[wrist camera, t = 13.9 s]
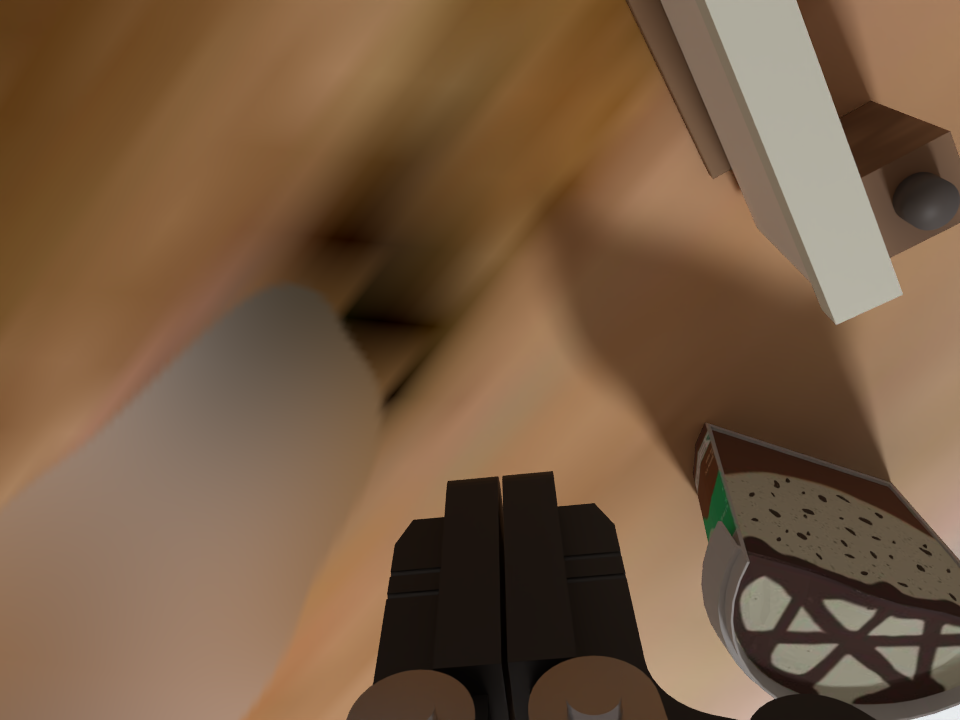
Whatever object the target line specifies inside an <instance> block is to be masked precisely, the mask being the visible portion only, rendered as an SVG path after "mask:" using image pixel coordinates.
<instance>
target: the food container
mask: <svg viewBox="0 0 960 720" xmlns="http://www.w3.org/2000/svg"><path fill="white" fill-rule="evenodd" d="M693 475H694V480H695V484H696V489H697V493H698V498H699V502H700V507H701V511H702V516H703V520H704V525H705V529H706V534H707V538H708V546H707V550H706V554H705V557H704V561H703V570H702V592H703V600H704V606H705V609H706V611H707V614H708V617H709V620H710V623H711V625H712V626H713V628H714V630H715V632H716V633H717V635H718V637H719V638H720V640H721V641H722V643H723V644H724V646H725V647H726V649H727V650H728V652H729V653H730V655H731V656H732V658H733V659H734V661H735V662H736V664H737V665H738V666H739V667H740V668H741V669H742V670H743V671H744V673H745V674H746V675H747V676H748V677H749V678H750V679H751V680H752V681H754V682H755V683H756V684H758V685H759V686H760V687H761V688H762V689H763V690H764V691H766V692H767V693H768V694H769V695H771V696H772V697H773V698H775V699H776V698H779V697H783V696H786V695H793V694H816V695H823V696H827V697H831V698H835V699H838V700H841V701H843V702H846V703H848V704H851V705H852V706H854V707H856V708H858V709H860V710H862V711H863V712H865V713H867V714H868V715H870V716H871V717H873V718H875V719H876V720H911V719H915V718H919V717H923V716H927V715H931V714H935V713H937V712H940V711H943V710H946V709H948V708H951V707H954V706H956V705H959V704H960V560H959V559H958V558H957V557H956V556H955V554H954V553H953V552H952V551H951V550H950V549H949V548H948V546H947V545H946V544H945V543H944V542H943V541H942V540H941V538H940V537H939V536H938V535H937V534H936V533H935V532H934V531H933V529H932V528H931V527H930V526H929V525H928V524H927V523H926V521H925V520H924V519H923V518H922V517H921V516H920V515H919V513H918V512H917V511H916V510H915V509H914V508H913V507H912V506H911V504H910V503H909V502H908V501H907V500H906V499H905V498H904V496H903V495H902V494H901V493H900V492H899V491H898V490H897V488H896V487H895V486H894V485H893V484H892V483H891V482H888V481H885V480H882V479H878V478H875V477H872V476H869V475H866V474H863V473H860V472H857V471H854V470H851V469H848V468H845V467H841V466H838V465H835V464H832V463H829V462H826V461H823V460H820V459H817V458H814V457H811V456H807V455H804V454H801V453H798V452H795V451H792V450H789V449H786V448H783V447H780V446H777V445H774V444H770V443H767V442H764V441H761V440H758V439H755V438H752V437H749V436H746V435H743V434H740V433H737V432H733V431H730V430H727V429H724V428H721V427H718V426H715V425H712V424H709V423H706V422H705V424H704V426H703V428H702V431H701V433H700V436H699V438H698V440H697V443H696V447H695V458H694V468H693Z"/></svg>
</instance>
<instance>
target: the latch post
mask: <svg viewBox="0 0 960 720" xmlns="http://www.w3.org/2000/svg"><path fill="white" fill-rule="evenodd" d="M839 120H840V122H841V125H842V128H843V131H844V133H845V136H846V139H847V142H848V144H849V147H850V150H851V153H852V155H853V158H854V161H855V164H856V166H857V169H858V172H859V175H860V177H861V180H862V183H863V186H864V188H865V191H866V194H867V197H868V199H869V202H870V205H871V208H872V210H873V213H874V216H875V219H876V221H877V224H878V227H879V230H880V232H881V235H882V238H883V241H884V244H885V246H886V249H887V252H888V255H889V257H890V258H891V257H893V256H895V255H897V254H899V253H901V252H903V251H905V250H907V249H909V248H911V247H913V246H915V245H917V244H919V243H921V242H923V241H925V240H927V239H929V238H931V237H933V236H935V235H937V234H939V233H941V232H943V231H945V230H947V229H949V228H951V227H953V226H955V225H957V224H959V223H960V158H959V155H958V152H957V149H956V146H955V144H954V141H953V138H952V135H951V132H950V131H948V130H945V129H943V128H940V127H938V126H935V125H932V124H930V123H927V122H925V121H922V120H919V119H917V118H914V117H912V116H909V115H906V114H904V113H901V112H899V111H896V110H894V109H891V108H888V107H886V106H883V105H881V104H878V103H875V102H873V101H871V102H869V103H867V104H865V105H863V106H861V107H860V108H858V109H856V110H854V111H852V112H850V113H849V114H847V115H845V116H843V117H841V118H839Z"/></svg>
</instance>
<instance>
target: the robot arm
mask: <svg viewBox="0 0 960 720" xmlns="http://www.w3.org/2000/svg"><path fill="white" fill-rule="evenodd" d="M502 484H503V504H502V496H501V488H500V482H499V477H487V478H477V479H466V480H455V481H448V482H447V490H446V504H445V517H440V518H429V519H418V520H413V521H412V522H411V524H410V525H409V526H408V528H407V529H406V530H405V532H404V533H403V534H402V536H401V537H400V538H399V540H398V541H397V542H396V544H395V547H394V554H393V560H392V567H391V577H390V579H389V586H388V592H387V595H388V599H386V605H385V612H384V618H383V624H382V631H381V637H380V644H379V650H378V657H377V663H376V669H375V676H374V682H373V685H372V686H371V687H369V688H368V689H367V690H366V691H365V692H364V693H363V694H362V695H361V696H360V697H359V698H358V699H357V701H356V702H355V703H354V705H353V706H352V708H351V710H350V711H349V714H348V717H347V719H346V720H736V719H731V718H726V717H721V716H716V715H711V714H708V713H704V712H700V711H698V710H695V709H692V708H690V707H688V706H686V705H684V704H682V703H680V702H678V701H676V700H675V699H674V698H672V697H671V696H669V695H668V694H667V693H666V692H665V691H664V690H662V689H661V688H660V687H659V686H658V684H657V683H656V682H655V681H654V679H653V678H652V676H651V674H650V673H649V671H648V669H647V666H646V663H645V659H644V655H643V650H642V646H641V641H640V637H639V632H638V628H637V623H636V619H635V614H634V610H633V605H632V601H631V596H630V592H629V587H628V583H627V578H626V576H625V569H624V565H623V560H622V556H621V552H620V547H619V543H618V538H617V534H616V529H615V525H614V524H613V523H612V521H611V520H610V519H609V518H608V517H607V516H606V515H605V514H604V513H603V512H602V511H601V510H600V509H599V508H598V507H597V506H596V505H595V503H592V504H581V505H570V506H559V507H557V499H556V491H555V483H554V475H553V471H550V472H539V473H528V474H517V475H507V476H503V477H502ZM750 720H876V719H875V718H873V717H871V716H870V715H868V714H867V713H865V712H863V711H862V710H860V709H858V708H856V707H854V706H852V705H851V704H848V703H846V702H843V701H841V700H838V699H835V698H831V697H827V696H823V695H816V694H793V695H786V696H783V697H779V698H776V699H774V700H772V701H770V702H768V703H766V704H765V705H763V706H762V707H761V708H759V709H758V710H757V711H756V712H755V714H754V715H753V716H752V718H751V719H750Z"/></svg>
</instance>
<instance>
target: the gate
mask: <svg viewBox="0 0 960 720" xmlns="http://www.w3.org/2000/svg"><path fill="white" fill-rule="evenodd" d="M660 1H661V3H662V5H663V8H664V10H665V12H666V15H667V17H668V19H669V22H670V24H671V26H672V29H673V31H674V34H675V36H676V38H677V41H678V43H679V45H680V48H681V50H682V52H683V55H684V57H685V59H686V62H687V64H688V66H689V69H690V71H691V74H692V76H693V78H694V81H695V83H696V85H697V88H698V90H699V92H700V95H701V97H702V99H703V102H704V104H705V106H706V109H707V111H708V114H709V116H710V118H711V121H712V123H713V125H714V128H715V130H716V132H717V135H718V137H719V139H720V142H721V144H722V147H723V149H724V151H725V154H726V156H727V158H728V161H729V163H730V165H731V168H732V170H733V172H734V175H735V177H736V179H737V182H738V184H739V187H740V189H741V191H742V194H743V196H744V198H745V201H746V203H747V205H748V208H749V210H750V212H751V215H752V217H753V219H754V222H755V224H756V227H757V228H758V229H759V231H760V232H761V233H762V234H763V235H764V236H765V237H766V238H767V239H768V240H769V241H770V242H771V243H772V244H773V245H774V246H775V247H776V248H777V249H778V250H779V251H780V252H781V253H782V254H783V255H784V256H785V257H786V258H787V259H788V260H789V261H790V262H791V263H792V264H793V265H794V266H795V267H796V268H797V269H798V270H799V271H800V272H801V273H802V274H803V275H804V276H805V277H806V278H807V279H808V280H809V281H810V282H811V284H812V287H813V289H814V292H815V294H816V296H817V299H818V301H819V304H820V306H821V309H822V310H823V311H824V312H825V314H826V315H827V316H828V317H829V318H830V319H831V320H832V321H833V322H834V323H835V324H836V325H837V324H840V323H842V322H844V321H846V320H848V319H850V318H853V317H855V316H857V315H859V314H861V313H864V312H866V311H868V310H870V309H872V308H875V307H877V306H879V305H881V304H883V303H885V302H888V301H890V300H892V299H894V298H896V297H899V296H901V295H903V293H902V290H901V288H900V285H899V282H898V279H897V277H896V274H895V271H894V268H893V266H892V263H891V260H890V257H889V255H888V252H887V249H886V246H885V244H884V241H883V238H882V235H881V232H880V230H879V227H878V224H877V221H876V219H875V216H874V213H873V210H872V208H871V205H870V202H869V199H868V197H867V194H866V191H865V188H864V186H863V183H862V180H861V177H860V175H859V172H858V169H857V166H856V164H855V161H854V158H853V155H852V153H851V150H850V147H849V144H848V142H847V139H846V136H845V133H844V131H843V128H842V125H841V122H840V120H839V117H838V114H837V111H836V108H835V106H834V103H833V100H832V97H831V95H830V92H829V89H828V86H827V84H826V81H825V78H824V75H823V73H822V70H821V67H820V64H819V62H818V59H817V56H816V53H815V51H814V48H813V45H812V42H811V40H810V37H809V34H808V31H807V29H806V26H805V23H804V20H803V18H802V15H801V12H800V9H799V7H798V4H797V1H796V0H660Z"/></svg>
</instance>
